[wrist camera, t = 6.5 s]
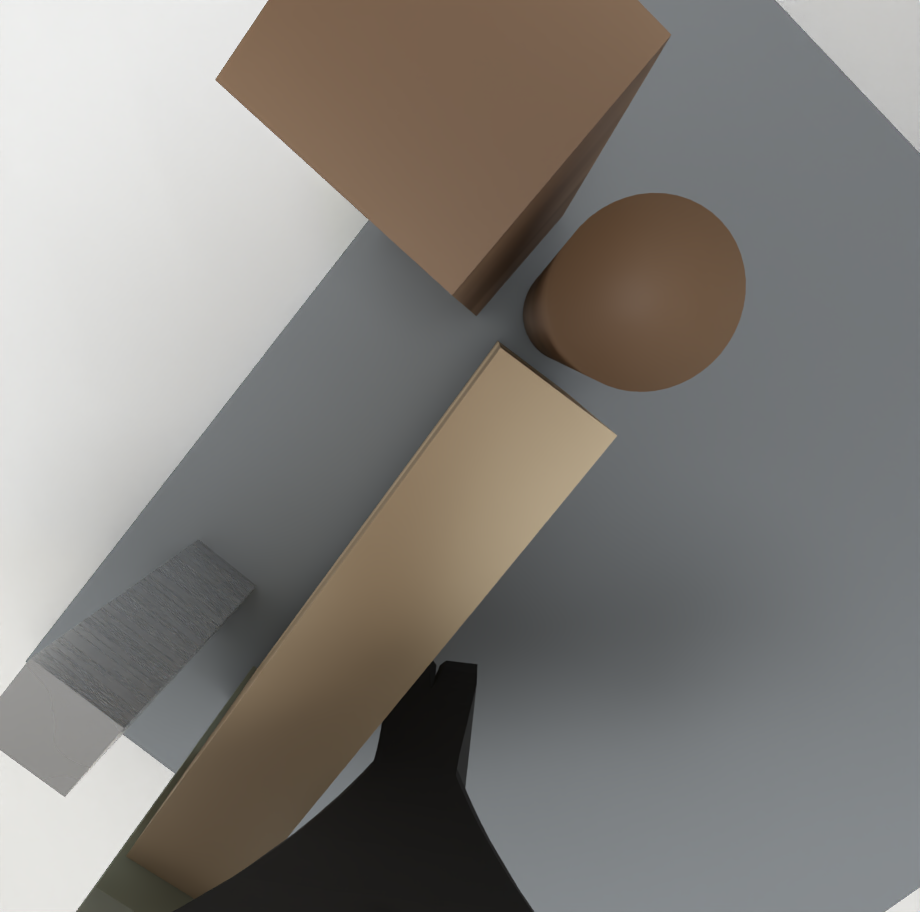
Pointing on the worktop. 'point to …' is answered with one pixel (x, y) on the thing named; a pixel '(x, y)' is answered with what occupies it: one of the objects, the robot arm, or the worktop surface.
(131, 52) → the worktop surface
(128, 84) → the worktop surface
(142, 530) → the mat
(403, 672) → the gate
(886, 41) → the worktop surface
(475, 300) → the hinge post
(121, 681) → the post
